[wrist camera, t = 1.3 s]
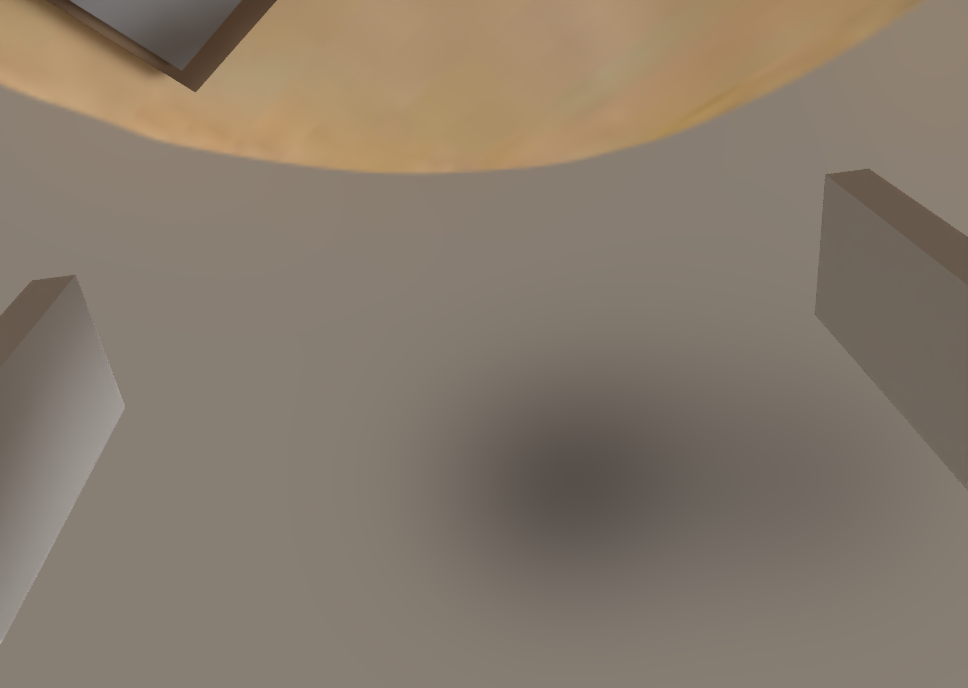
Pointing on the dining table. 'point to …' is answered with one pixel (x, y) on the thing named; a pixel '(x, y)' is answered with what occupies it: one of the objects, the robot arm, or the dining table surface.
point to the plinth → (172, 30)
